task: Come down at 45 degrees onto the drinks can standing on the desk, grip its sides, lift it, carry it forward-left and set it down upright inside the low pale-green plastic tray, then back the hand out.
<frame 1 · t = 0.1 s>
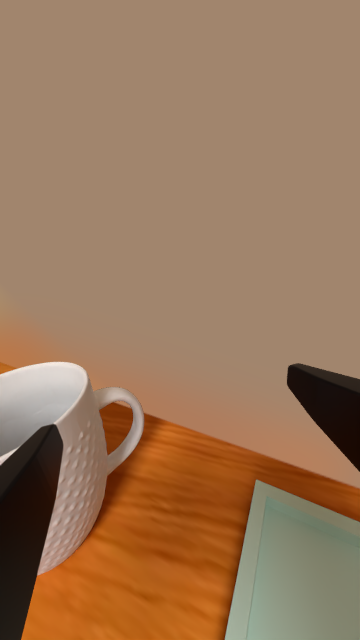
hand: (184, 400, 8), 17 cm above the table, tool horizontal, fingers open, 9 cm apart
mug: (73, 512, 20), on the table
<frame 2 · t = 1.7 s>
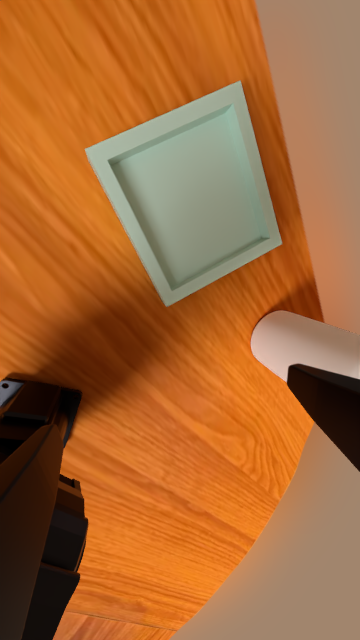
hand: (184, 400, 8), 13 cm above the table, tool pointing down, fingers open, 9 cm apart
tray: (192, 209, 18), on the table
can: (272, 336, 25), on the table
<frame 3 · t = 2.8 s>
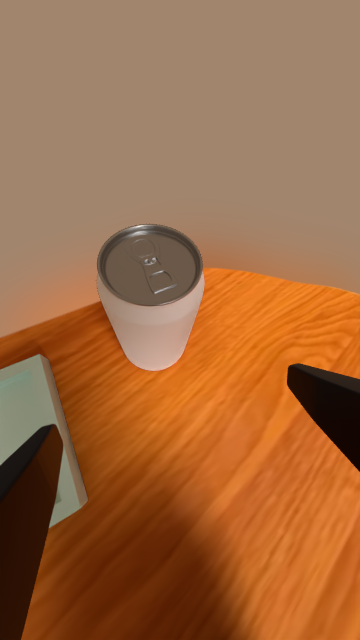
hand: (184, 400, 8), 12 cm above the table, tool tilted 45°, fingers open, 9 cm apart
can: (154, 341, 22), on the table
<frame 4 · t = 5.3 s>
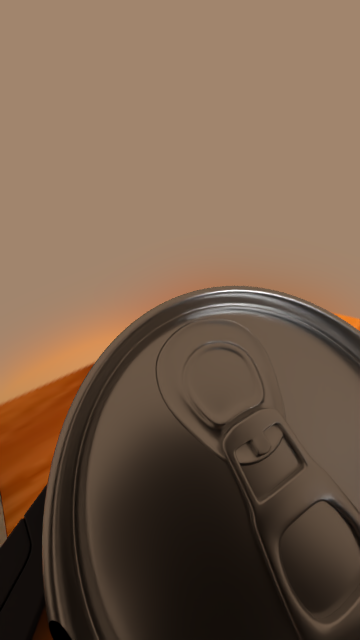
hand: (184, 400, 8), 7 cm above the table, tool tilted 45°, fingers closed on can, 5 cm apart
can: (179, 436, 14), on the table, touching gripper
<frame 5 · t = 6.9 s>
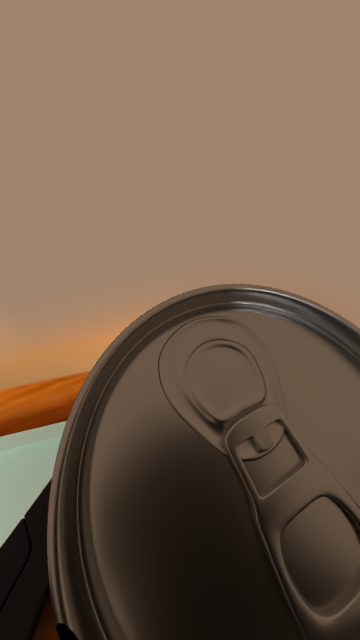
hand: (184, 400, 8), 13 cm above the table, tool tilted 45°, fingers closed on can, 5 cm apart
tray: (62, 509, 16), on the table
can: (179, 435, 14), point 6 cm above the table, touching gripper
when the fingers open (8 cm above the table, at t = 8.9 s): can stays where it is, resting on tray.
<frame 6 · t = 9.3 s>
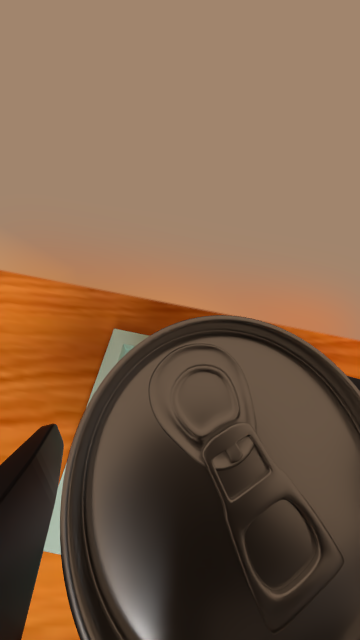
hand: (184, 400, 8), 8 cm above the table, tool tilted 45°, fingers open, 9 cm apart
tray: (177, 434, 15), on the table
can: (179, 437, 14), resting on tray
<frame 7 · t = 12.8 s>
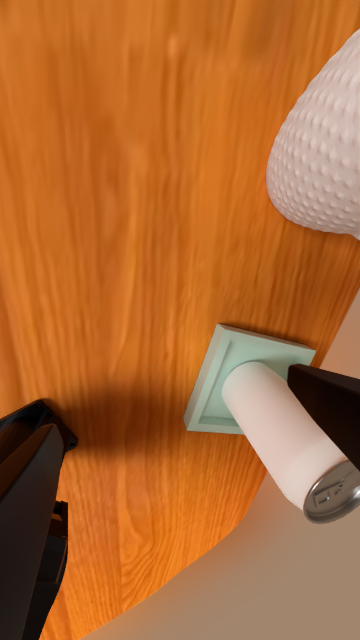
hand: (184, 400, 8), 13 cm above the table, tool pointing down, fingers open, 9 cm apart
tray: (244, 380, 25), on the table
can: (245, 383, 25), resting on tray
mug: (301, 186, 20), on the table
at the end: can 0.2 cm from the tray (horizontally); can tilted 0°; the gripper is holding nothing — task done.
